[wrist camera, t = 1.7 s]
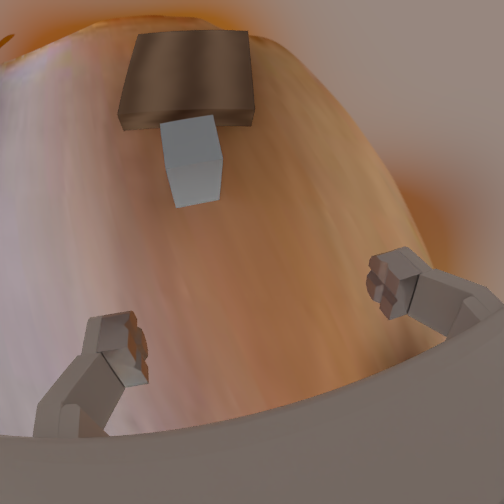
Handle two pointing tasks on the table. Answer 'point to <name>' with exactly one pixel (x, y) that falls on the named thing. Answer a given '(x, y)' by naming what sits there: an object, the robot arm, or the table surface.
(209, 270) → the table surface
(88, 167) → the table surface
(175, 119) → the walnut plinth
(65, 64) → the table surface
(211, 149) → the slate block
